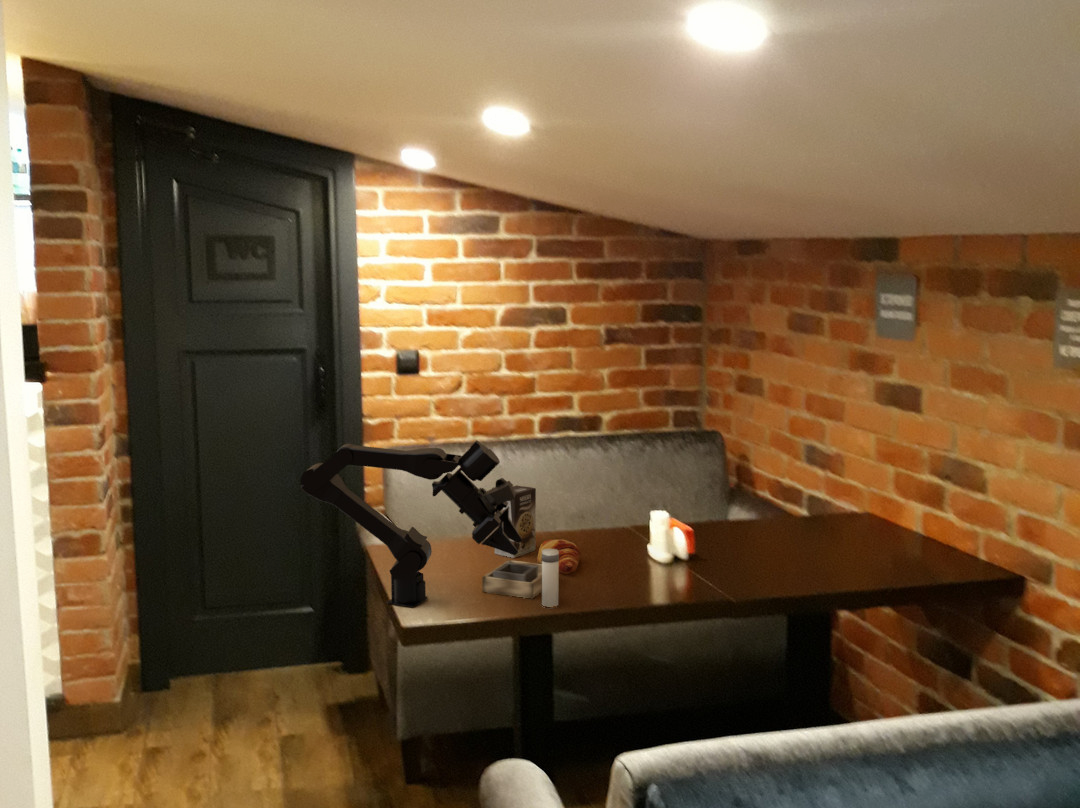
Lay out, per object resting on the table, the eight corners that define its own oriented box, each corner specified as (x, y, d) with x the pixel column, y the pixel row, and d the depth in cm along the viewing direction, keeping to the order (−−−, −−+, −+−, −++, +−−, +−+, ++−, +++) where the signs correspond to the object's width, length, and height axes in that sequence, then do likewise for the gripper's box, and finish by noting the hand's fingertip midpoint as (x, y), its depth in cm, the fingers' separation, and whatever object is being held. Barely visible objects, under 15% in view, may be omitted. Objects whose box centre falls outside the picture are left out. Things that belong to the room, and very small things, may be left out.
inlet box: (482, 592, 236) (482, 571, 235) (508, 574, 249) (508, 554, 248) (532, 599, 232) (532, 578, 231) (556, 580, 244) (556, 560, 244)
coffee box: (514, 558, 261) (514, 494, 259) (493, 554, 265) (493, 490, 263) (536, 550, 268) (536, 487, 266) (516, 546, 272) (516, 484, 270)
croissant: (536, 567, 267) (521, 540, 265) (570, 546, 268) (556, 519, 266) (559, 592, 246) (544, 563, 244) (596, 569, 248) (581, 540, 246)
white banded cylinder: (541, 608, 226) (541, 553, 224) (542, 602, 230) (542, 548, 228) (558, 608, 226) (558, 553, 224) (559, 602, 229) (559, 548, 228)
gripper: (487, 479, 215) (542, 533, 216) (497, 460, 233) (548, 510, 234) (449, 516, 217) (503, 570, 218) (462, 495, 235) (512, 544, 236)
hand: (518, 547), depth 226 cm, fingers open, 9 cm apart
